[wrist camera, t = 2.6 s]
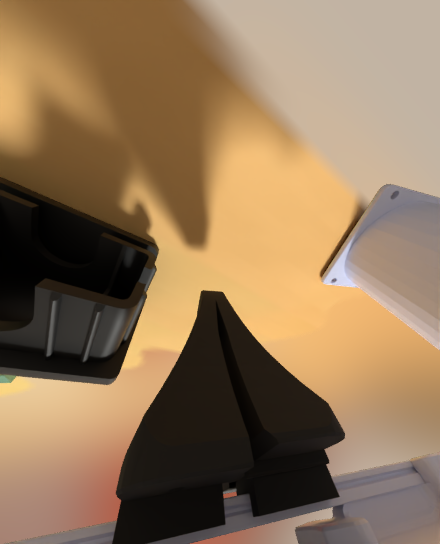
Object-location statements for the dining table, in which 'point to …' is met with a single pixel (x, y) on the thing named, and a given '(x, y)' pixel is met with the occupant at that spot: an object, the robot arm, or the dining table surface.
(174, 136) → the dining table surface
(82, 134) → the dining table surface
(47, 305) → the black plastic holder
